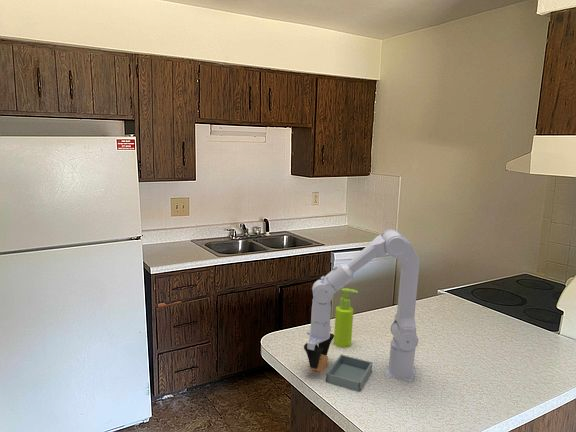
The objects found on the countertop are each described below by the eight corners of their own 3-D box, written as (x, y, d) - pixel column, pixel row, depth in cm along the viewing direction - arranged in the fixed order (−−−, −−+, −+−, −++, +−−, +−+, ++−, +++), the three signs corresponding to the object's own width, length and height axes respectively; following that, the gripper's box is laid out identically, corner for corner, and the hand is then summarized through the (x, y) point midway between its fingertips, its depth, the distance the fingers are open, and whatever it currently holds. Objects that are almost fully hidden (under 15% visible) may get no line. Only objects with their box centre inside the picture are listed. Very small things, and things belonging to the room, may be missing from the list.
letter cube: (315, 364, 134) (315, 352, 134) (327, 367, 133) (327, 355, 132) (310, 370, 131) (310, 357, 130) (322, 373, 129) (323, 361, 128)
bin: (340, 363, 135) (341, 354, 135) (371, 371, 131) (372, 362, 131) (325, 383, 124) (326, 373, 123) (359, 393, 120) (360, 383, 119)
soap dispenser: (353, 350, 144) (357, 293, 141) (332, 347, 146) (336, 291, 142) (354, 342, 150) (358, 287, 147) (334, 339, 151) (337, 285, 148)
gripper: (317, 309, 137) (315, 348, 140) (298, 325, 124) (296, 369, 127) (338, 313, 134) (335, 354, 137) (321, 331, 121) (318, 375, 124)
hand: (318, 362), depth 131 cm, fingers open, 7 cm apart
